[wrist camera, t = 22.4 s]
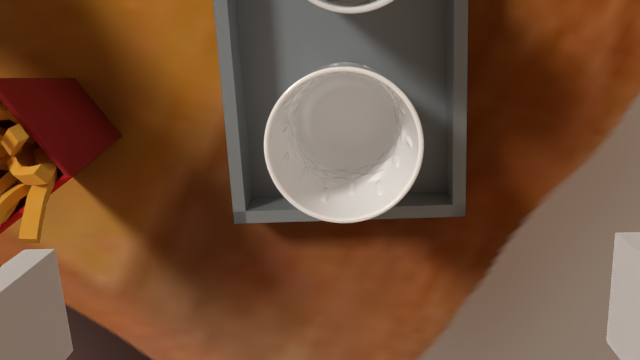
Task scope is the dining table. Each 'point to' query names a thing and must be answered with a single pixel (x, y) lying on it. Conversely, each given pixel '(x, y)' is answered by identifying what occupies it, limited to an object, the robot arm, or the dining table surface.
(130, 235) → the dining table surface
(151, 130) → the dining table surface
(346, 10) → the mug
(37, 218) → the french fries
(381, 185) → the white cup
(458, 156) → the tray
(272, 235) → the dining table surface
